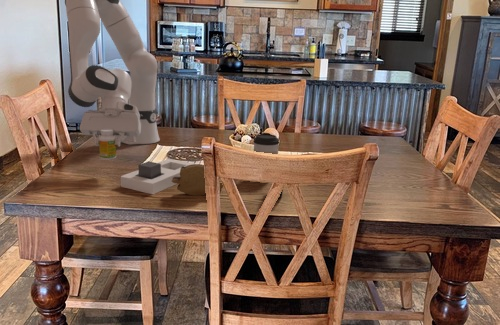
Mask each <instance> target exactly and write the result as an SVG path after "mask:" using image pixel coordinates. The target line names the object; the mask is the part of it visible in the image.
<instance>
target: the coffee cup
mask: <svg viewBox="0 0 500 325" xmlns="http://www.w3.org/2000/svg"><path fill="white" fill-rule="evenodd" d="M279 144H280V139H279V138H278V137H277V135H276V134H275V135H274V134H272V133H270V132H263V133H261V134H256V136H255V137H254V138H253V152H254V151H256V152H264V153H272V154H278V155H279Z"/></svg>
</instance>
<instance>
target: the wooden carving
mask: <svg viewBox="0 0 500 325" xmlns="http://www.w3.org/2000/svg"><path fill="white" fill-rule="evenodd" d="M204 165H205V164H200V163H194V164H192V165H188V166H186V167H181V170H180V177H173V179H172V182H173V183H177V184H176V185H177V187H176V190H178V191H180V193H181V192H182V193H184V194H186V195H189V196H194V197H195V196H205V195H206V194H205V178H204ZM223 187H224V185H222V183H220V193H219V194H221V193H222V189H223Z"/></svg>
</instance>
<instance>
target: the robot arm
mask: <svg viewBox="0 0 500 325" xmlns="http://www.w3.org/2000/svg"><path fill="white" fill-rule="evenodd" d="M64 4H65V10H66V18H67V24H68V25H67V26H68V37H69V38H68V39H69V40H68V42H69V44H68V46H69V50H68V51H69V65H70V66H69V68H70V84H69V86H68V91H67V93H68V97H69V98H70V100H71V101H72V102H73V103H74V104H76V105H77V106H79V107H82V108H90V107H93V106H94V105H95V103H96V102H97V101H98V100H99V99H102V103H101V107H100V110H99V109H98V110H97V109H96V110H93V109H90V110H87V111H85V112H84V113H83V114H82V118H81V122H80V124H79V131H80V132H81V133H82V134H83V136H93V138H94V146H96V147H97V146H98V147H99V137H100V136H102V135H101V129H113V136H115V138H116V140H115V146H116V147H119V148H120V146H121V143H123V144H126V145H128V146H129V145H130V146H131V145H145V144H146V145H148V144H155V143H158V142H160V140H161V138H160V136H159V131H158V127H157V126H158V125H157V117H158V116H157V115H158V114H157V111H158V110H157V108H156V87H157V77H158V75H157V74H158V69H159V68H158V65H159V64H158V61H157V59H156V57H155V55H153V54H152V53H150V52H148V51H147V48H146V47H145V45H144V42H143V40H142V37H141V35H140V32H139V29H138V28H137V27H136V24H135V23H134V21H133V19H132V18H131V16H130V14H129V12H128V10H127V9H126V8H125V5H124V4H123V3H122V1H121V0H64ZM101 22H102V25H103V27H104V29H105V30H106V32H107V34H108V35H109V36H110V39H111V41H113V43H114V46H115V48H116V50H117V52H118V54H119V56H120V58H121V59H122V61H123V63H124V65H125V67H126V69H127V70H128V71H125V70H124V69H123V68H122V69H121V68H114V69H113V68H112V69H109V68H105V67H104V66H101V65H97V64H94V65H93V64H92V65H90V66H89V56H90V52H91V50H92V48H93V46H94V44H95V43H96V41H97V39H98V37H99V35H100V33H101ZM128 72H129V73H128Z"/></svg>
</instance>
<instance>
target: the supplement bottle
mask: <svg viewBox="0 0 500 325" xmlns="http://www.w3.org/2000/svg"><path fill="white" fill-rule="evenodd" d="M98 139H99V146H98V147H99V158H100V159H101V160H106V161H108V160H109V161H111V160H114V159H116V158H117V146H115V140H116V138H115V136H113V129H101V135H99V137H98Z"/></svg>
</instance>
